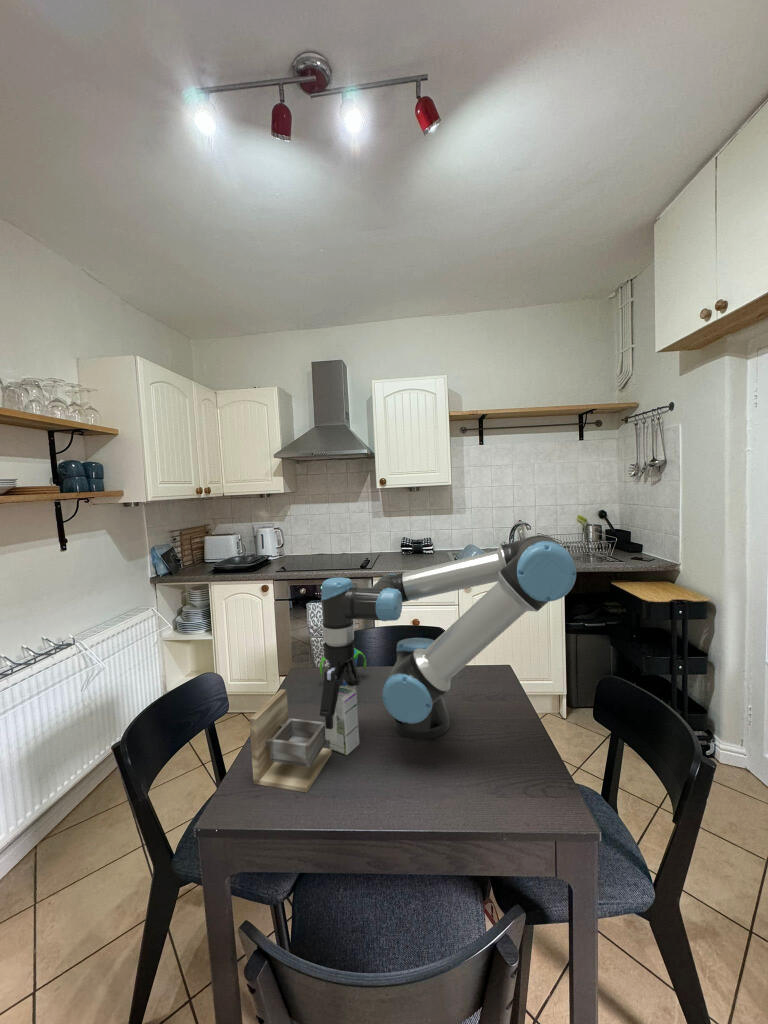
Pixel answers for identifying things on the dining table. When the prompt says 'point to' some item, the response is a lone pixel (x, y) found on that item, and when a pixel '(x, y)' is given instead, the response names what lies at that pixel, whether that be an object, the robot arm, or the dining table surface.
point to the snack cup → (354, 660)
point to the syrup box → (346, 721)
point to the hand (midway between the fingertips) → (341, 724)
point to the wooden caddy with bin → (286, 747)
